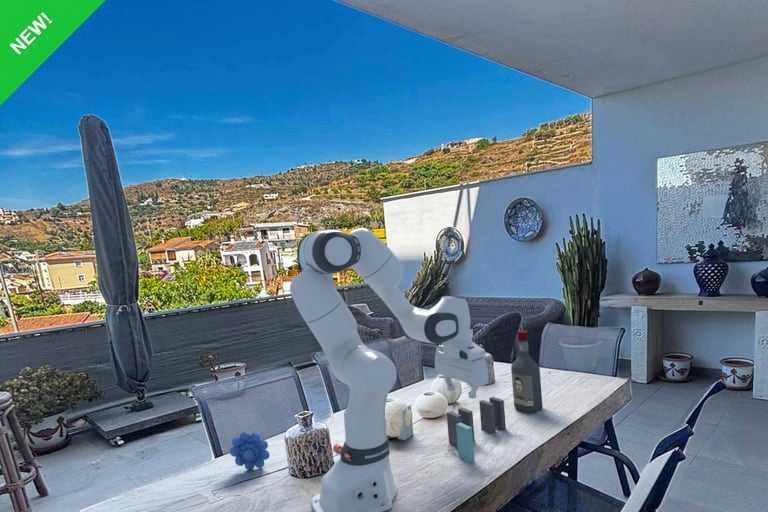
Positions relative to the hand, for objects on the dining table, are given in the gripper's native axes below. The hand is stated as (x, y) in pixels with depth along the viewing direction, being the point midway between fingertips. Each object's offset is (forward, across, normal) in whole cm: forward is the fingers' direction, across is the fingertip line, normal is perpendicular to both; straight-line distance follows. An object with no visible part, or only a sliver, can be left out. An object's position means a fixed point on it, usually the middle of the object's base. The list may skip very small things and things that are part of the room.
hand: (461, 394), depth 124 cm
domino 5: (+20, -9, +24) cm, 32 cm away
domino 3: (+20, 0, 0) cm, 20 cm away
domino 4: (+20, -9, +19) cm, 29 cm away
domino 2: (+20, -9, +9) cm, 23 cm away
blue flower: (+19, -37, -55) cm, 69 cm away
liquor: (+20, -13, +45) cm, 51 cm away
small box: (+20, -27, -6) cm, 34 cm away
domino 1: (+20, -9, +4) cm, 22 cm away
